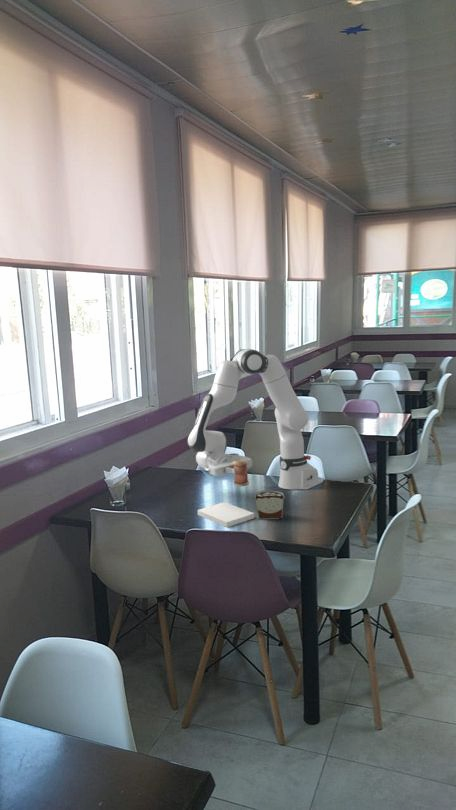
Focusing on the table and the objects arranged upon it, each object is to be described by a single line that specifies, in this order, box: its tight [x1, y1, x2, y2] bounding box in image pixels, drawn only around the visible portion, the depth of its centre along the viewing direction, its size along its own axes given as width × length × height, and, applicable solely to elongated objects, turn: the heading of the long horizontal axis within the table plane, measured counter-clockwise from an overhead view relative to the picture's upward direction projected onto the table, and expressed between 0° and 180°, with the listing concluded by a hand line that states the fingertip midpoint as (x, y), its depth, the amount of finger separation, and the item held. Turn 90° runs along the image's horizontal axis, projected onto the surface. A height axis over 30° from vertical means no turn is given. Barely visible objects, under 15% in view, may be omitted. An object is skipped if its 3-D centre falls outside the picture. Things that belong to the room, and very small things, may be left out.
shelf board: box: [197, 501, 255, 528], centre depth 232 cm, size 14×20×2 cm
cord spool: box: [233, 459, 250, 487], centre depth 240 cm, size 6×6×10 cm
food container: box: [253, 490, 286, 520], centre depth 229 cm, size 12×6×10 cm, turn 84°
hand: (241, 469), depth 239 cm, fingers closed on cord spool, 5 cm apart
